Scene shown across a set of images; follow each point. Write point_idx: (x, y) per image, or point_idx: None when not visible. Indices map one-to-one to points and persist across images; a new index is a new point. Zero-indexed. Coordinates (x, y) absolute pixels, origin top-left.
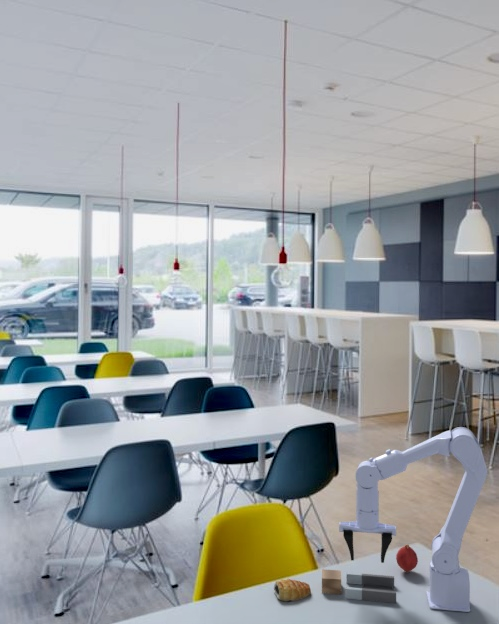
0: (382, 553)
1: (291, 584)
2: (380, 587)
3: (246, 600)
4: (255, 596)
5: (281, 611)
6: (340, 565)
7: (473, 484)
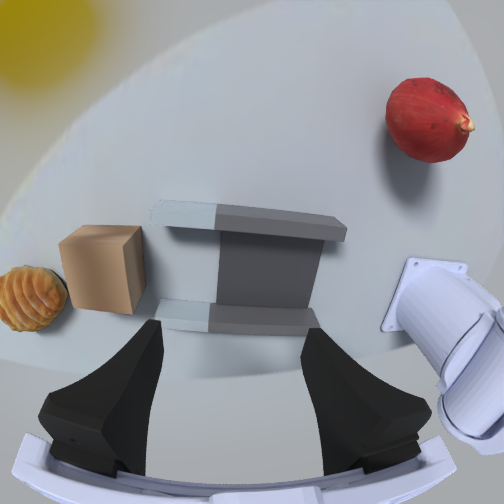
0: (314, 401)
1: (22, 322)
2: (283, 239)
3: None
4: None
5: (46, 351)
6: (146, 70)
7: None
